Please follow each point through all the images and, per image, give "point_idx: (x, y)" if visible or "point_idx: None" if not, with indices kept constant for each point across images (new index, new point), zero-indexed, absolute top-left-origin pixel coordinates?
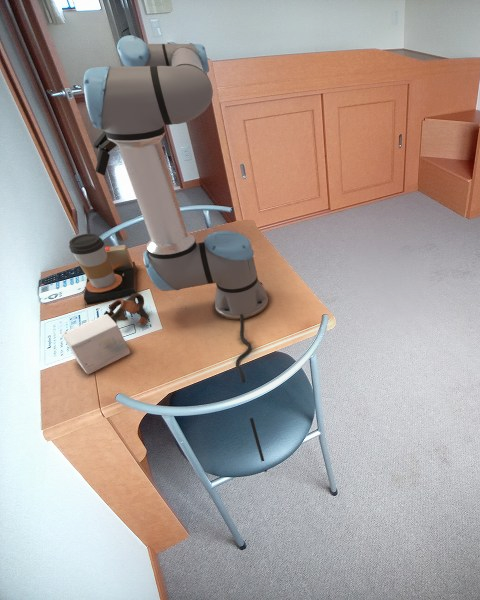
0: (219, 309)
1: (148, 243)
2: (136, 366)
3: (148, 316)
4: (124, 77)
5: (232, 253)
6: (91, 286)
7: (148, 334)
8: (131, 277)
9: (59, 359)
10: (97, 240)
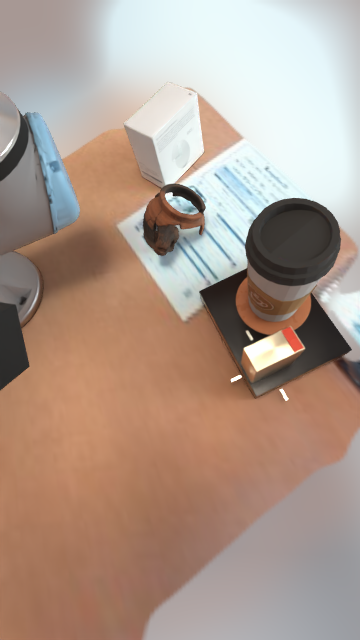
0: (23, 256)
1: (5, 104)
2: (124, 160)
3: (145, 239)
4: None
5: None
6: None
7: (133, 211)
8: (224, 327)
9: (235, 153)
10: (252, 236)
